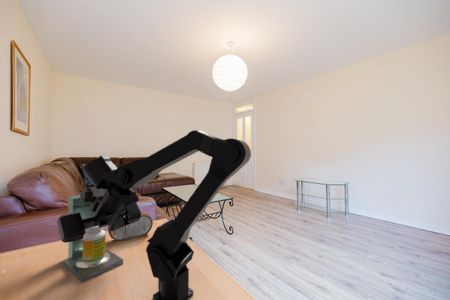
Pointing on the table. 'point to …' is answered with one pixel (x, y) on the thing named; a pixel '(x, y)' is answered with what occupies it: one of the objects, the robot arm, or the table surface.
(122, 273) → the table surface
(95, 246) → the supplement bottle
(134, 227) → the tin
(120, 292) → the table surface
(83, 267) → the stand
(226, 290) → the table surface
